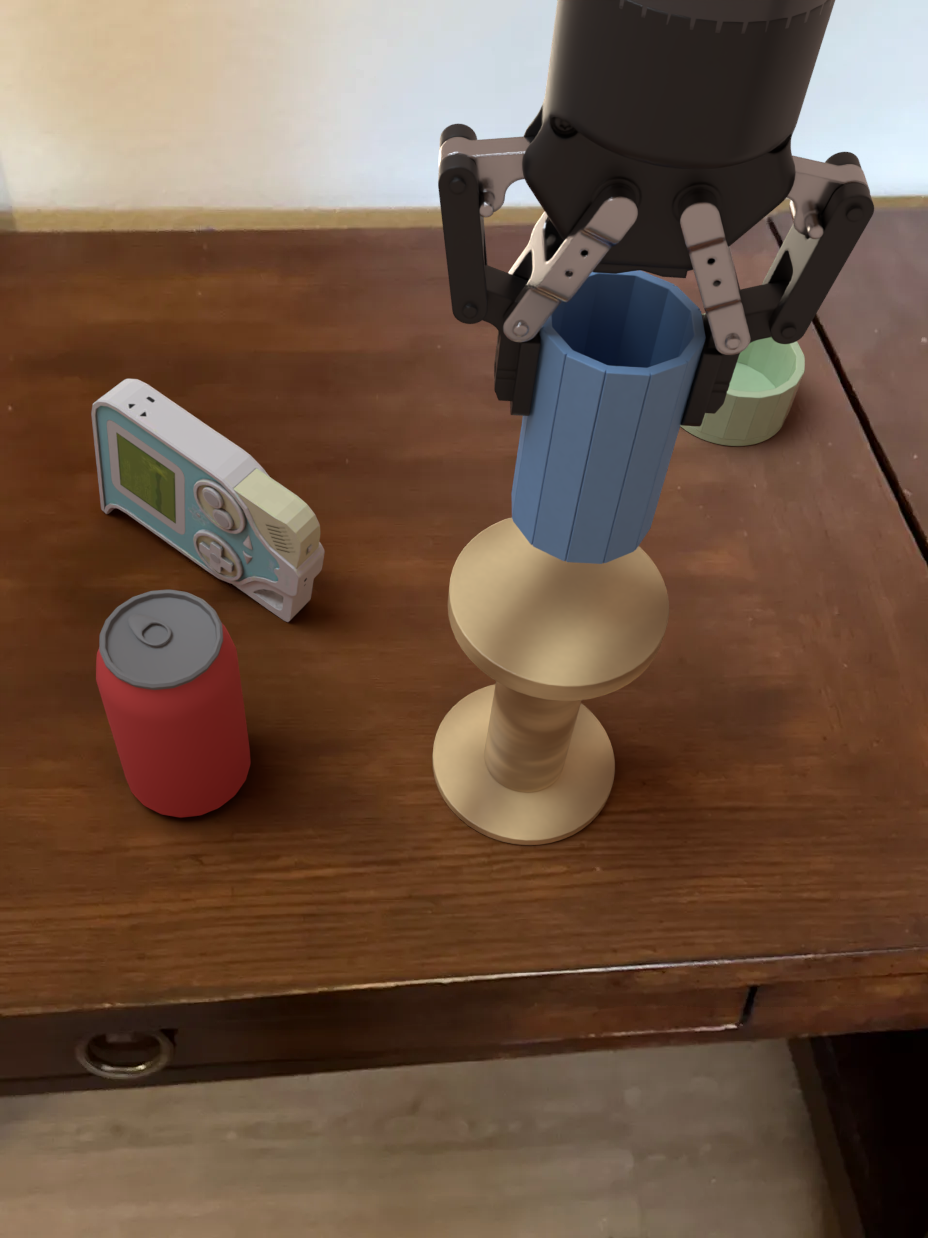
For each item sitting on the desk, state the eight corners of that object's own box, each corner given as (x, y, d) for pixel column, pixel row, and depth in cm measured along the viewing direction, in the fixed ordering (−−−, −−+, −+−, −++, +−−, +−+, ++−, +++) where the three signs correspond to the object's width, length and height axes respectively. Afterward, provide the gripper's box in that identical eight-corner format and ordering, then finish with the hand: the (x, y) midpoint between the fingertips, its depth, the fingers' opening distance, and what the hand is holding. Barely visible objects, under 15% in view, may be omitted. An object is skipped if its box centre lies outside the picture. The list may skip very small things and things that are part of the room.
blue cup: (672, 496, 51) (729, 305, 43) (612, 585, 48) (662, 397, 40) (552, 441, 53) (586, 247, 45) (486, 524, 50) (510, 331, 42)
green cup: (804, 390, 87) (823, 341, 83) (758, 465, 82) (776, 416, 78) (692, 343, 89) (706, 293, 86) (641, 413, 84) (654, 363, 81)
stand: (643, 739, 68) (704, 569, 56) (561, 879, 63) (610, 724, 51) (488, 659, 71) (516, 481, 59) (397, 787, 65) (407, 619, 53)
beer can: (186, 695, 68) (158, 557, 58) (277, 758, 66) (263, 626, 56) (99, 777, 64) (55, 645, 55) (192, 846, 62) (163, 721, 53)
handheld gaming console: (287, 649, 73) (97, 513, 75) (316, 618, 74) (129, 486, 77) (301, 540, 63) (84, 389, 66) (334, 508, 65) (120, 362, 67)
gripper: (435, -13, 30) (410, 467, 43) (1003, 30, 31) (806, 489, 44) (441, -141, 34) (417, 330, 48) (936, -100, 35) (776, 351, 49)
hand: (604, 404), depth 46 cm, fingers closed on blue cup, 6 cm apart
